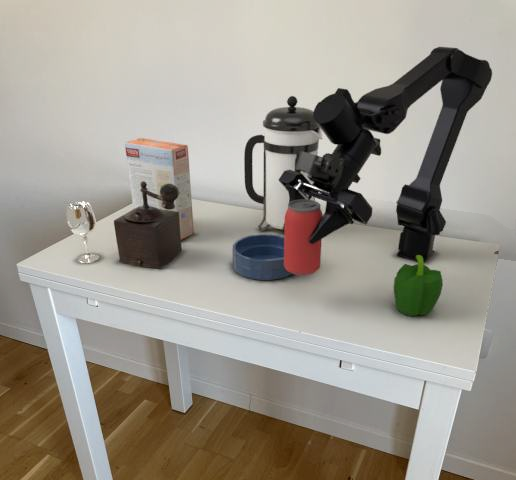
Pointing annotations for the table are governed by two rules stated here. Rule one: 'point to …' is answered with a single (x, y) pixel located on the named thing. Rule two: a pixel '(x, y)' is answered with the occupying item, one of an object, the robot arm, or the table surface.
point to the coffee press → (281, 157)
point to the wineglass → (82, 225)
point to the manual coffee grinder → (150, 231)
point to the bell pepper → (417, 288)
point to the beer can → (301, 237)
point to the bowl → (260, 257)
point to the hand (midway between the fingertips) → (297, 236)
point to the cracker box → (161, 176)
